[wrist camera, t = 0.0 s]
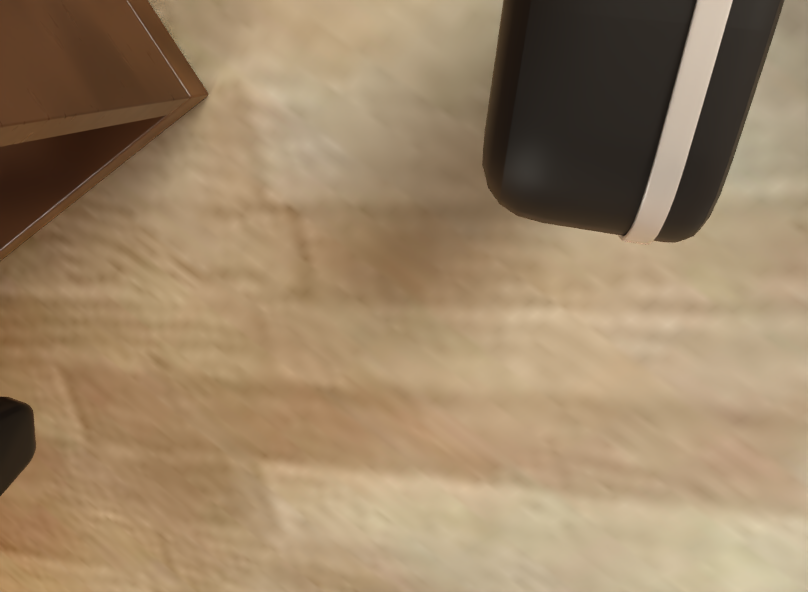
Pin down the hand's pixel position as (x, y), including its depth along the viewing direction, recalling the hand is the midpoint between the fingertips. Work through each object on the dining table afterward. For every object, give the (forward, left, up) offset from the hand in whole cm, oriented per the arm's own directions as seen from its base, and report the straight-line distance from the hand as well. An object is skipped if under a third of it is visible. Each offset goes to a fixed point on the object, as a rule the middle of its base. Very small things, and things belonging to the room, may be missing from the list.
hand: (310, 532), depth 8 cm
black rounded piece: (+7, -2, -15) cm, 17 cm away
